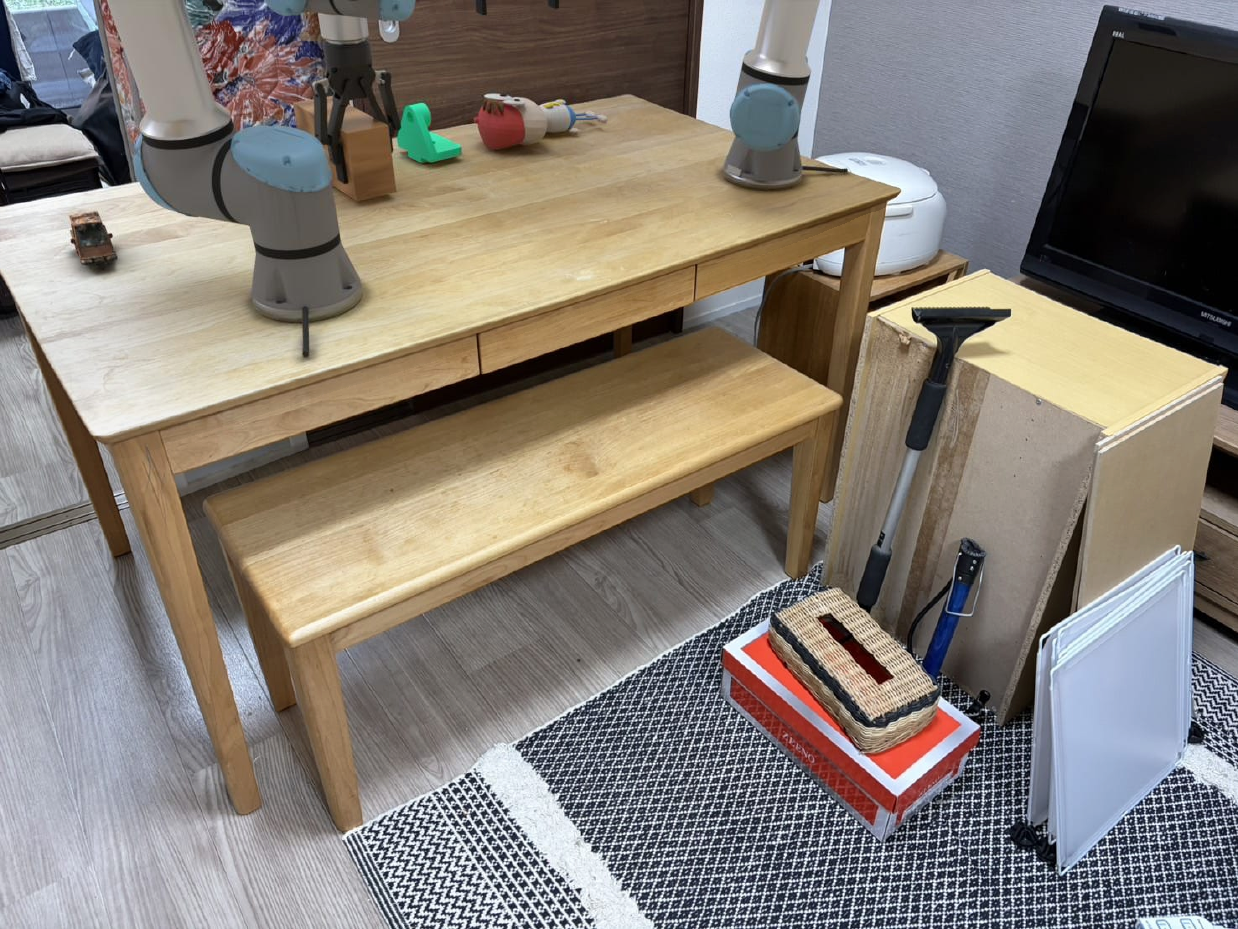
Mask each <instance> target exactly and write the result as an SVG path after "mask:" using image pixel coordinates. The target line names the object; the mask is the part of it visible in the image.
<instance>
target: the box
mask: <svg viewBox="0 0 1238 929" xmlns="http://www.w3.org/2000/svg"><path fill="white" fill-rule="evenodd" d="M332 98H333V95H329V96H327V128H328V124H329V119H330V114H331V109H332V105H333V101H332ZM292 106H293V111H294V116H295V123H296V129H299V130H302V131H305V132H307V133H309V134H311V135H313V136H314V137H315V129H314V98H313V99H311V98H310V99H306V100H305V99H304V100H299V101H293V102H292ZM338 144H340V145H342V146H343V151H344V158H345V164H346V171H347V177H348V184H343V183H342V182H340V181H339V180H338V179H337V173H336V166H335V165H334V164H332V163H331V162H330V159H329V153H328V147H327V145H323V144H322V146H323V148H324V149H325V152H326V157H327V161H328V165H329V167H330V170H331V174H332V179H331V180H332V187H334V188H336V189H337V190H339V191H340V192H342V193H343V194H345V195H346V196H347V197H349V198H351V199H353V201H355V202H360V201H365V200H369V199H373V198H377V197H382V196H385V195H389V194H394V193H397V186H396V178H395V169H394V161H393V153H392V152H391V144H390V136H389V128H388V125H387V124H385V123H383V122H380V121H378V120H376V119H374V118H373V117H372V115H371V114H368V113H366V112H365V111H362V110H360V109H358V108H357V107H355V106H353V105H351V104H350V103H348V106H347V107H346V110H345V114H344V119H343V123H342V128H341V129H340V137H339V142H338Z"/></svg>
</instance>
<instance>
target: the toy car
mask: <svg viewBox="0 0 1238 929" xmlns="http://www.w3.org/2000/svg"><path fill="white" fill-rule="evenodd" d="M68 217H69V219H70V227H71V229H69V233H70V236H71V238H70V243H71V244H72V245H73V246H74V248H75V251H76V254H77V255H78V258H79V260H80V264H81V265H82V266H86V267H91V266H94V265H97V266H98V268H99V270H100V271H102V272H104V271H105V265H104V264H112V263H113V262H114V261H117V260H118V255H117V251H116V250H114V244H113V242H112V240H111V239H112V238H114V235H113V233H112V232H110V233H109V232H108V230H107V228H106V225H105V224H104V223H103V220H102V219H101V218H102V217H101V216H100V213H99V211H95V210H93V211H87V212H83V213H82V212H81V213H74V214H69V215H68Z"/></svg>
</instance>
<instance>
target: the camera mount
mask: <svg viewBox="0 0 1238 929" xmlns="http://www.w3.org/2000/svg"><path fill="white" fill-rule="evenodd" d="M431 123H432V114H431V111H430V109H429V107H428V106H427V104H425V103H424V102H419V103H414V104H409V105H406V106H405V107H404V110H403V114H402V117H401V120H400V124H401V129H400V130H398V133H397V137H396V143H397V147H398V148H400V149H402V150H404V151H406V152H407V156H408V158H410V159H412V160H413V161H416V162H418V163H420V164H424V163H427V162H428V163H435V162H438V161H439V162H440V161H443V160H447V159H452V158H456V157H459V156H461V155H463V153H462V151H463V150H462V145H461V144H458V143H457V142H454V141H452V140H449V139H447V138H445V137H443V136H441V135H439V134H437V133H434V132H431V131H430V130H429V128H428V127H429V126H430V125H431Z"/></svg>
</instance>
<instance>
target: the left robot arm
mask: <svg viewBox="0 0 1238 929" xmlns="http://www.w3.org/2000/svg"><path fill="white" fill-rule="evenodd" d="M263 1H264V3H265V4H266V6H267V7H268V8H269V9H270V10H271V11H273V12H274V13H276V14H278V15H280V16H282V17H290V16H299V15H302V14H303V13H314V14H317V16H318V17H317V18H318V22H319V29H320V35H321V37H322V39H323V42H322V49H323V57H324V62H325V67H326V73H325V76H324V78H322V79H318V80H315V79H313V80H311V81H310V82H309V85H310V88H311V92H312V94H313V99H314V129H315V137H314V136H313V135H311V134H309V133H307V132H305V131H302V130H299V129H297V127H296V128H295V127H292V126H288V125H280V124H279V125H273V126H270V125H267V124H263V125H262V124H261V125H253V126H247V127H245V128H243V129H240V130H238V131H236V128H235V124H234V121H233V117H232V114H231V112H230V110H229V109H228V108H226V106H224V105H222V104H220V103H219V102H217V101H216V100H215V98H214V95H213V92H212V88H211V84H210V82H209V78H208V74H207V71H206V68H205V65H204V61H203V58H202V55H201V52H200V49H199V45H198V42H197V39H196V35H195V32H194V29H193V25H192V22H191V19H190V15H189V12H188V9H187V6H186V2H185V0H106V2H107V5H108V8H109V10H110V13H111V16H112V19H113V22H114V25H115V27H116V30H117V33H118V37H119V38H120V42H121V45H122V48H123V50H124V53H125V55H126V58H127V61H128V65H129V67H130V70H131V72H132V76H133V78H134V81H135V85H136V87H137V89H138V92H139V95H140V98H141V101H142V104H143V106H144V109H145V114H144V116H143V117H142V119H141V121H139V124H138V126H139V127H138V128H139V131H140V134H139V135H138V137H137V138H136V142H135V145H134V149H135V151H136V154H135V155H133V167H134V172H135V175H136V178H137V180H138V182H139V184H140V186H141V188H142V190H143V191H144V192H145V195H147V196H148V197H149V199H151V201H153V202H154V203H155V204H157V205H158V206H159V207H161V208H163V209H165V210H167V211H172V212H175V213H178V214H180V215H184V216H186V217H191V218H203V219H209V220H215V221H220V222H226V223H233V224H237V225H243V226H248V227H249V229H250V234H251V237H252V238H251V239H252V242H253V247H254V251H255V258H254V264H253V273H252V283H251V289H250V294H251V299H252V303H253V307H254V309H255V310H256V311H257V313H259V314H260V315H262V316H264V317H266V318H268V319H271V320H275V321H281V322H289V323H301V325H302V354H301V355H302V357H303V358H308V357H309V356H310V326H309V323H310V322H314V321H315V322H316V321H320V320H326V319H330V318H332V317H336V316H338V315H341V314H343V313H345V312H348V311H349V310H351V309H353V308H354V307H355V306H356V305H357V304H358V303H359V302H360V301H361V298H362V297H363V287H362V282H361V278H360V276H359V274H358V272H357V270H356V268H355V266H354V264H353V263H352V261H351V259H350V257H349V255H348V253H347V251H346V250H345V248H344V245H343V243H342V239H341V233H340V225H339V220H338V214H337V207H336V200H335V196H334V195H335V194H334V188H333V187H334V186H333V185H332V180H331V179H332V174H331V170H330V167H329V165H328V161H327V157H326V152H325V149H324V148H323V146H322V144H323V145H327V147H328V153H329V159H330V162H331V163H332V164H334V165H335V166H336V173H337V179H338V180H339V181H340V182H342V183H343V184H348V177H347V171H346V164H345V158H344V151H343V146H342V145H340V144H338V142H339V137H340V129H341V128H342V123H343V119H344V114H345V110H346V107H347V106H348V104H350V103H349V102H350V101H354V100H356V99H362V100H363V102H364V104H365V106H366V108H367V109H368V111H369V113H370V116H372V117H373V118H374V119H376V120H378V121H380V122H383V123H385V124H387V125H388V128H389V136H390V144H391V152H392V154H393V153H394V145H393V137H394V136H395V132H396V131H399V130H400V129H401V120H400V117H399V113H398V109H397V105H396V101H395V97H394V93H393V89H392V74H391V73H390V72H389V71H386V70H384V69H382V68H381V69H379V70H375V68H374V67H373V59H372V58H373V57H372V49H371V43H370V40H369V39H367V38H368V37H369V36H370V33H369V24H368V19H369V20H377V21H382V22H385V23H386V22H387V21H389V22H404V21H407V20H408V19H409V18H410V17H411V16H412V14H413V12H414V10H415V5H416V1H417V0H263ZM374 81H375V83H377V87H378V91H379V95H380V98H381V103H382V106H383V110H384V112H385V114H384V112H383V111H382V109H381V107H380V105H379V103H378V101H377V99H376V95H375V94H374V92H373V90H372V86H373V84H374ZM329 87H330V88H331V89H332V91H333V94H332V96H333V98H332V101H333V105H332V109H331V114H330V119H329V124H328V128H327V97H328V96H327V94H328V93H329ZM385 116H386V117H385Z"/></svg>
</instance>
